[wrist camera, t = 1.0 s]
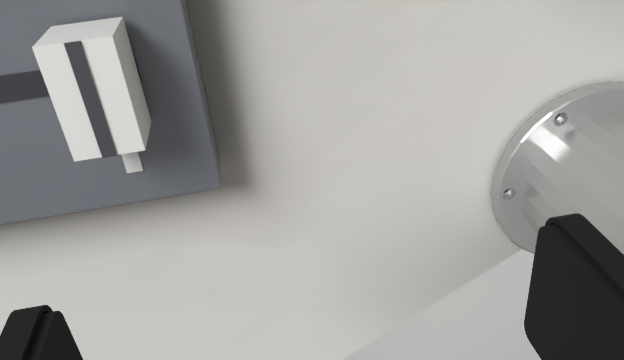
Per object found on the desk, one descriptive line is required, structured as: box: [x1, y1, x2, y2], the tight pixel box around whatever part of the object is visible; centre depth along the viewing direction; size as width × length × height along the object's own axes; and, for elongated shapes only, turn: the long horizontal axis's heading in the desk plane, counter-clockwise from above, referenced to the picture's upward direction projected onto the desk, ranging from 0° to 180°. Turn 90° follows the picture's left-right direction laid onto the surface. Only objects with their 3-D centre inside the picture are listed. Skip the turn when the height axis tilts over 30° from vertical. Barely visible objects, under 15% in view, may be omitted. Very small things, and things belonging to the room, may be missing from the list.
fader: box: [32, 17, 151, 162], centre depth 23 cm, size 3×5×3 cm, turn 6°
